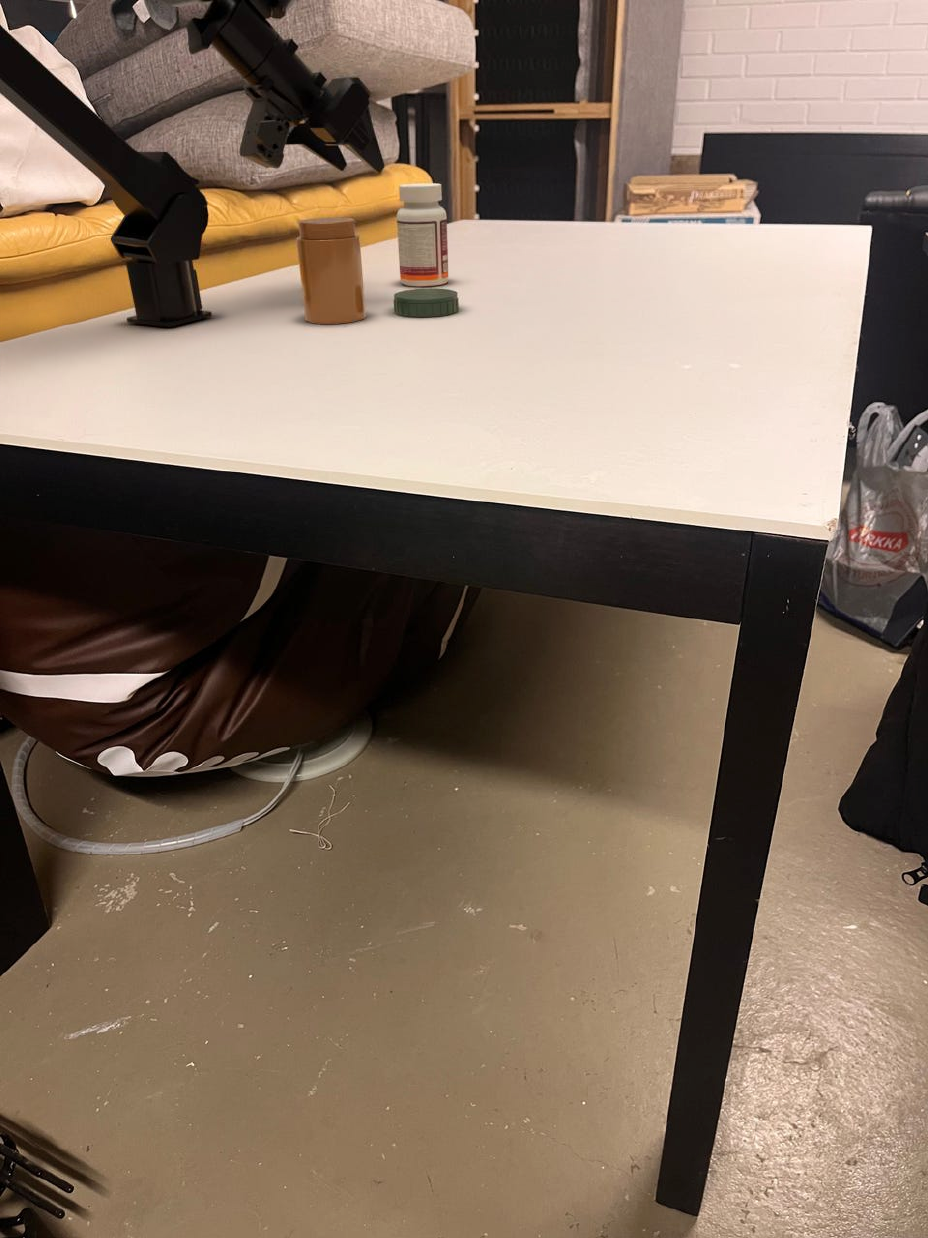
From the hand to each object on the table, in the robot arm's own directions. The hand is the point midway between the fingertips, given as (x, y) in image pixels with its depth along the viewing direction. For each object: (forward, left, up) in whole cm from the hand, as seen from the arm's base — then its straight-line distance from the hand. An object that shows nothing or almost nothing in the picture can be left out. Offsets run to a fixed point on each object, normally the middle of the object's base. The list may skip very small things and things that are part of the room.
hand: (362, 168), depth 101 cm
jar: (-16, -6, -13) cm, 22 cm away
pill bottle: (+7, -3, -13) cm, 16 cm away
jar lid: (-9, -14, -12) cm, 20 cm away
